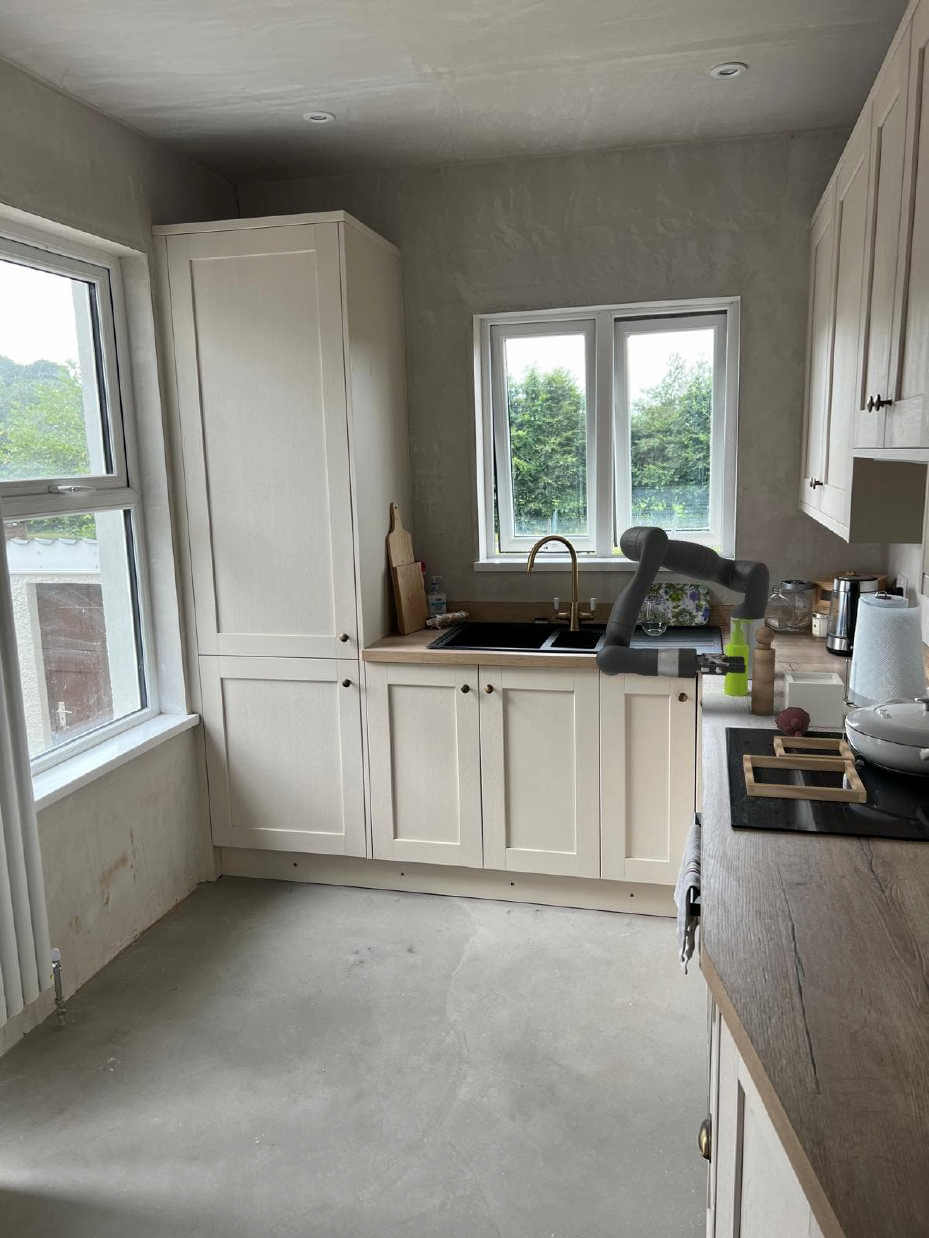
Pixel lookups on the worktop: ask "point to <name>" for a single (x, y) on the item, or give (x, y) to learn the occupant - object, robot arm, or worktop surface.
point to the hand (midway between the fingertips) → (744, 664)
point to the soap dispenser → (739, 681)
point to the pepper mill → (763, 673)
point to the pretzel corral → (804, 791)
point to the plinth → (815, 696)
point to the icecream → (793, 721)
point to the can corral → (815, 744)
